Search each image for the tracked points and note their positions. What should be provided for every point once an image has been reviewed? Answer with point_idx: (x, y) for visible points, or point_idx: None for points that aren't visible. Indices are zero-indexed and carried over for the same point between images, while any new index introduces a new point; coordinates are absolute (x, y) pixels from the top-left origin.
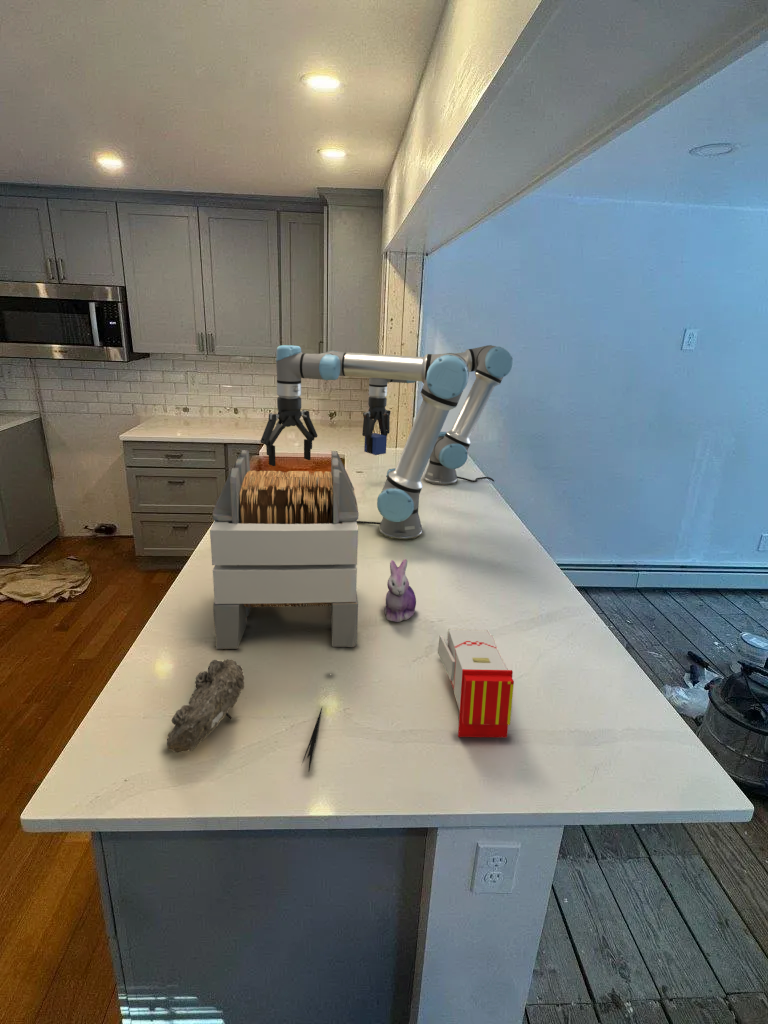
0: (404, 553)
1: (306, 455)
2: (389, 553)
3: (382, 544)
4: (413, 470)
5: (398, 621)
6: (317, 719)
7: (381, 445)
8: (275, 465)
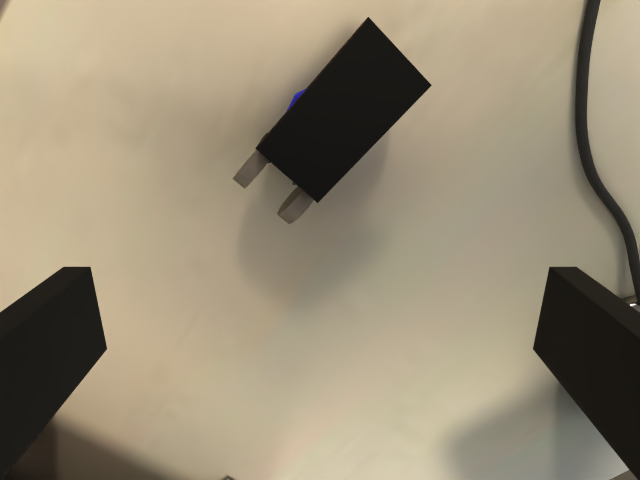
0: (503, 460)
1: (565, 337)
2: (472, 440)
3: (510, 389)
4: None
5: None
6: None
7: None
8: (104, 351)
